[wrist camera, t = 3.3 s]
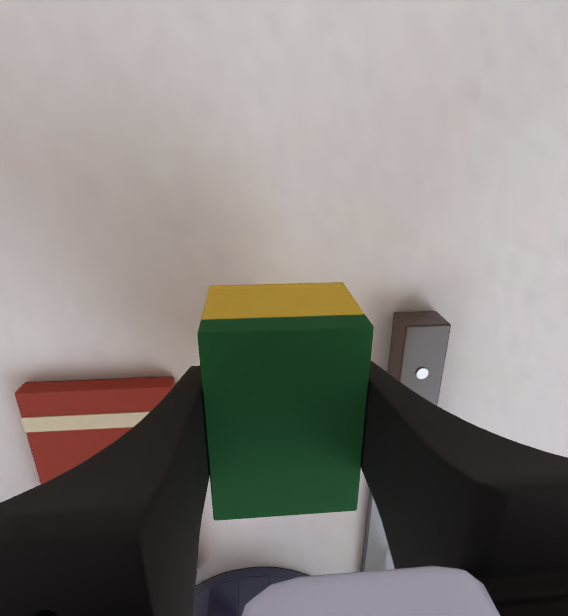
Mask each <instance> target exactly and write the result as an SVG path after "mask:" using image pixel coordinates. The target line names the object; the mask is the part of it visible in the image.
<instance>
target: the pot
mask: <svg viewBox="0 0 568 616" xmlns="http://www.w3.org/2000/svg"><path fill="white" fill-rule="evenodd" d="M305 576H308V575H305V574H302V573H300V572H296V571H292V570H287V569H281V568H268V567H263V568H248V569H241V570H236V571H232V572H228V573H225V574H221V575H218V576H216V577H214V578H211V579H209V580H207V581H205V582H203V583H201V584H199V585H198V586H196V587H195V592H194V605H193V616H242V614H243V611H244V608H245V605H246V604H247V603H248V602H249V601H250V600H252V599H253V598H254V597H255V596H257V595H258V594H259V593H261V592H262V591H263V590H265V589H266V588H267V587H269V586H270V585H271V584H275V583H279V582H282V581H286V580H290V579H294V578H297V577H305Z"/></svg>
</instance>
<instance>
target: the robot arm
mask: <svg viewBox="0 0 568 616" xmlns="http://www.w3.org/2000/svg"><path fill="white" fill-rule="evenodd" d="M361 468H362V471H363V473H364V476H365V478H366V481H367V483H368V486H369V488H370V491H371V494H372V496H373V499H374V501H375V504H376V506H377V509H378V512H379V515H380V518H381V521H382V524H383V528H384V531H385V535H386V539H387V542H388V546H389V549H390V553H391V557H392V560H393V564H394V568H395V569H390V570H378V571H366V572H353V573H341V574H329V575H317V576H305V577H297V578H294V579H290V580H286V581H282V582H279V583H275V584H271V585H270V586H269V587H267V588H266V589H265V590H263V591H262V592H261V593H259V594H258V595H257V596H255V597H254V598H253V599H252V600H250V601H249V602H248V603H247V604H246V605H245V608H244V611H243V614H242V616H568V458H567V457H563V456H559V455H555V454H551V453H548V452H545V451H541V450H538V449H535V448H532V447H529V446H526V445H523V444H520V443H517V442H515V441H512V440H509V439H506V438H504V437H501V436H499V435H496V434H494V433H491V432H489V431H487V430H484V429H482V428H479V427H477V426H475V425H473V424H471V423H468V422H466V421H464V420H462V419H460V418H459V417H457V416H455V415H453V414H451V413H449V412H447V411H445V410H443V409H441V408H440V407H438V406H436V405H435V404H433V403H431V402H430V401H428V400H426V399H425V398H423V397H422V396H420V395H419V394H417V393H415V392H414V391H412V390H411V389H410V388H408V387H407V386H405V385H404V384H402V383H401V382H399V381H398V380H397V379H395V378H394V377H393V376H391V375H390V374H388V373H387V372H386V371H384V370H383V369H382V368H380V367H379V366H378V365H376V364H375V363H373V362H372V361H370V371H369V382H368V393H367V404H366V415H365V426H364V436H363V447H362V458H361ZM209 476H210V472H209V460H208V449H207V437H206V426H205V414H204V402H203V391H202V379H201V368H200V366H191V367H190V368H189V369H188V370H187V371H186V373H185V374H184V375H183V376H182V377H181V379H180V380H179V381H178V382H177V383H176V385H175V386H174V387H173V388H172V389H171V390H170V391H169V393H168V394H167V395H166V396H165V397H164V398H163V399H162V400H161V401H160V402H159V403H158V404H157V405H156V406H155V407H154V408H153V409H152V410H151V411H150V412H149V413H148V414H147V415H146V416H145V417H144V418H143V419H142V420H141V421H140V422H139V423H137V424H136V425H135V426H134V427H133V428H131V429H130V430H129V431H128V432H126V433H125V434H124V435H123V436H121V437H120V438H119V439H117V440H116V441H115V442H113V443H112V444H110V445H109V446H107V447H106V448H104V449H103V450H101V451H100V452H98V453H96V454H95V455H93V456H92V457H90V458H89V459H87V460H86V461H84V462H82V463H81V464H79V465H77V466H75V467H74V468H72V469H70V470H68V471H67V472H65V473H63V474H61V475H59V476H57V477H55V478H53V479H51V480H49V481H47V482H45V483H43V484H41V485H39V486H37V487H35V488H33V489H30V490H28V491H26V492H24V493H21V494H19V495H17V496H15V497H13V498H10V499H8V500H6V501H3V502H1V503H0V616H193V605H194V592H195V580H196V567H197V555H198V544H199V533H200V526H201V519H202V513H203V508H204V502H205V497H206V492H207V486H208V481H209Z"/></svg>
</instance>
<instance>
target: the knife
mask: <svg viewBox="0 0 568 616" xmlns="http://www.w3.org/2000/svg"><path fill="white" fill-rule="evenodd" d="M450 327H451V325H450V323H449V322H448V321H446V320H445V319H444V318H443V317H442V316H441V315H440V314H439V313H438V312H437V311H417V312H395V313H394V320H393V329H392V337H391V346H390V355H389V364H388V374H390V375H391V376H393V377H394V378H395V379H397V380H398V381H399V382H401V383H402V384H404V385H405V386H407V387H408V388H410V389H411V390H412V391H414V392H415V393H417V394H419V395H420V396H422V397H423V398H425V399H426V400H428V401H430V402H431V403H433V404H435V405H436V406H437V403H438V397H439V391H440V385H441V379H442V374H443V368H444V362H445V356H446V350H447V344H448V339H449V333H450ZM390 569H395V568H394V564H393V560H392V557H391V553H390V549H389V546H388V542H387V539H386V535H385V531H384V528H383V524H382V521H381V518H380V515H379V512H378V509H377V506H376V504H375V501H374V499H373V496H372V494H371V491H370V497H369V507H368V516H367V525H366V535H365V544H364V553H363V563H362V572H366V571H378V570H390Z"/></svg>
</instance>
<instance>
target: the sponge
mask: <svg viewBox="0 0 568 616" xmlns="http://www.w3.org/2000/svg"><path fill="white" fill-rule="evenodd" d="M372 339H373V326H372V324H371V323H370V321H369V320H368V318H367V317H366V315H364V313H363V311H362V310H361V308H360V307H359V305H358V304H357V302H356V301H355V299H354V298H353V296H352V295H351V294H350V292H349V291H348V289H347V288H346V286H345V285H344V283H342V282H336V283H298V284H260V285H221V286H210V287H209V291H208V295H207V299H206V303H205V307H204V311H203V315H202V319H201V322H200V326H199V330H198V345H199V356H200V368H201V379H202V391H203V402H204V414H205V426H206V437H207V449H208V460H209V472H210V483H211V495H212V506H213V518H214V520H228V519H243V518H257V517H271V516H285V515H299V514H314V513H328V512H342V511H356V510H357V502H358V491H359V480H360V469H361V458H362V447H363V436H364V426H365V415H366V404H367V393H368V382H369V371H370V360H371V349H372Z"/></svg>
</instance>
